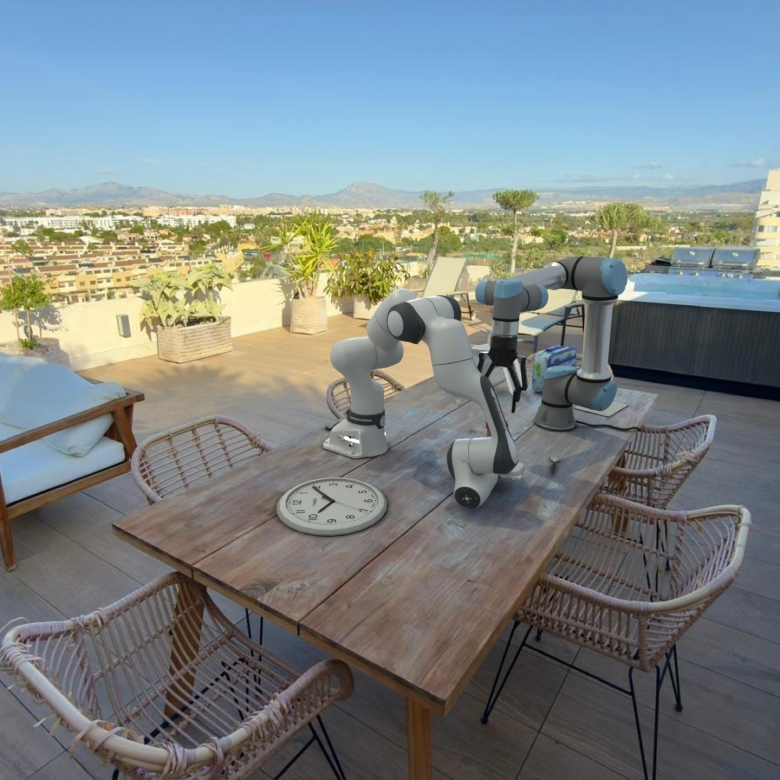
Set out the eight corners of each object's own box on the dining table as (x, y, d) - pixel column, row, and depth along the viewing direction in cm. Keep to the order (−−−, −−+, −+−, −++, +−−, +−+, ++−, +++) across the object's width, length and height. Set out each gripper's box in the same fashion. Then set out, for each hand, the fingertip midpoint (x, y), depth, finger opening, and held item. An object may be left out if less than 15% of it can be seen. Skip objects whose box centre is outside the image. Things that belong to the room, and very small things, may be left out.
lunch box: (548, 398, 236) (553, 353, 229) (527, 393, 243) (531, 349, 237) (575, 387, 253) (581, 344, 247) (555, 382, 260) (560, 341, 254)
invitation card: (608, 416, 214) (573, 407, 224) (608, 416, 214) (573, 408, 224) (628, 404, 229) (594, 396, 238) (628, 405, 229) (594, 397, 238)
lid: (508, 425, 160) (509, 419, 159) (506, 433, 154) (507, 427, 153) (487, 423, 162) (487, 417, 161) (484, 430, 156) (484, 424, 155)
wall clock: (392, 527, 129) (268, 531, 127) (391, 533, 130) (269, 537, 127) (383, 473, 158) (282, 475, 155) (383, 478, 158) (282, 480, 156)
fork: (547, 475, 162) (548, 469, 162) (551, 455, 176) (551, 449, 176) (556, 476, 161) (557, 470, 161) (559, 456, 176) (560, 451, 175)
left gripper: (520, 471, 144) (530, 452, 156) (450, 457, 152) (464, 440, 164) (518, 491, 146) (527, 471, 158) (449, 476, 154) (462, 458, 166)
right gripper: (544, 335, 149) (536, 411, 155) (471, 329, 156) (466, 401, 163) (540, 340, 142) (532, 419, 149) (465, 333, 150) (460, 408, 156)
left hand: (494, 455), depth 161 cm, fingers closed on jar, 5 cm apart
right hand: (498, 409), depth 156 cm, fingers open, 8 cm apart
